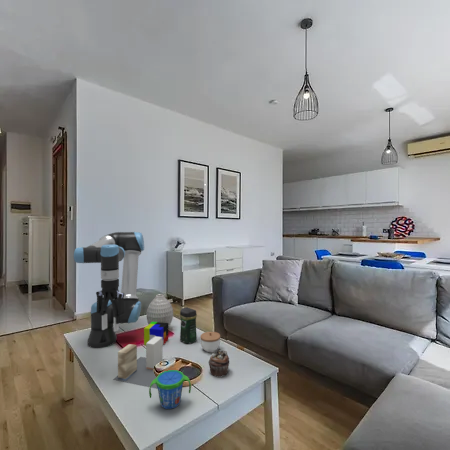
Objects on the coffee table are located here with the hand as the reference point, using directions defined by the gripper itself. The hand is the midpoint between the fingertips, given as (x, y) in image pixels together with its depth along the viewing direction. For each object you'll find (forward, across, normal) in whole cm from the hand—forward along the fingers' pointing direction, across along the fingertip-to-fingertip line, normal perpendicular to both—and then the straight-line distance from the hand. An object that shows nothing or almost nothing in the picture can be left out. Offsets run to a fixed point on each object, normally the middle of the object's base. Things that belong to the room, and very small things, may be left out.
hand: (110, 329), depth 126 cm
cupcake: (+20, +47, +15) cm, 53 cm away
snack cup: (+20, +36, -11) cm, 43 cm away
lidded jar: (+20, +36, +34) cm, 53 cm away
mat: (+20, +18, +6) cm, 27 cm away
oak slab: (+19, +9, 0) cm, 21 cm away
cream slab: (+19, +16, +11) cm, 27 cm away
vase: (+20, -3, +49) cm, 53 cm away
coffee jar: (+20, +20, +41) cm, 50 cm away
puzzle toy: (+20, +4, +33) cm, 39 cm away
